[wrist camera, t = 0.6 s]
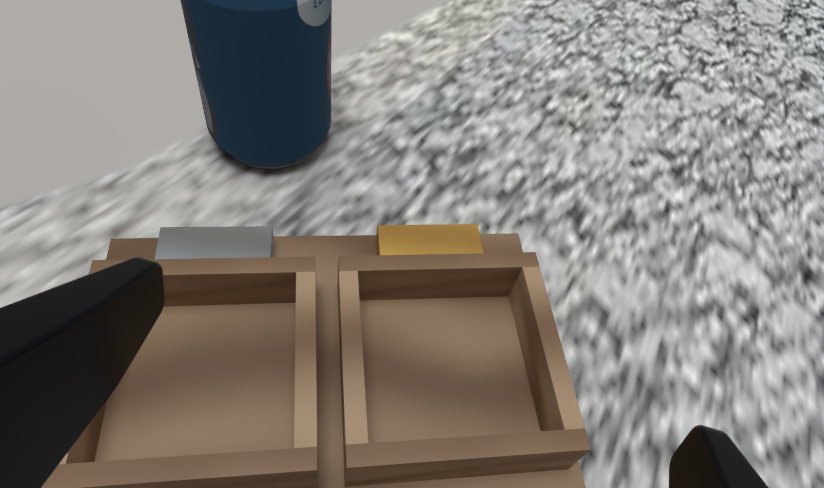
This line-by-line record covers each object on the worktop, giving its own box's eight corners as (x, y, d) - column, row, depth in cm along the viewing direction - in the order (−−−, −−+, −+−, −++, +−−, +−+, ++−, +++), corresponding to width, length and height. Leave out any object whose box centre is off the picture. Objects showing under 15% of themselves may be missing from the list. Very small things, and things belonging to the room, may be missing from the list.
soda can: (354, 135, 36) (365, -66, 26) (268, 197, 32) (244, -10, 22) (273, 81, 38) (255, -123, 28) (184, 134, 34) (129, -81, 24)
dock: (590, 555, 23) (629, 536, 20) (35, 613, 20) (-15, 601, 17) (512, 247, 32) (531, 202, 29) (118, 253, 29) (94, 204, 26)
